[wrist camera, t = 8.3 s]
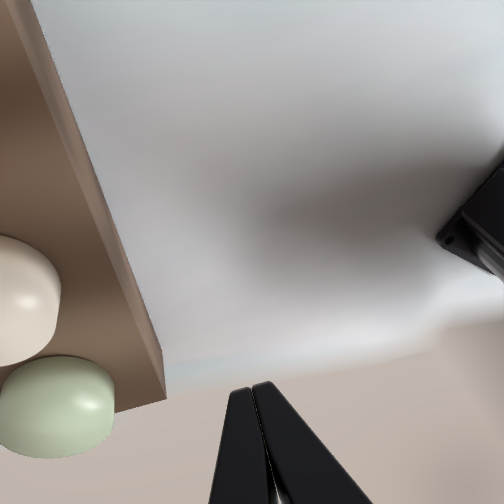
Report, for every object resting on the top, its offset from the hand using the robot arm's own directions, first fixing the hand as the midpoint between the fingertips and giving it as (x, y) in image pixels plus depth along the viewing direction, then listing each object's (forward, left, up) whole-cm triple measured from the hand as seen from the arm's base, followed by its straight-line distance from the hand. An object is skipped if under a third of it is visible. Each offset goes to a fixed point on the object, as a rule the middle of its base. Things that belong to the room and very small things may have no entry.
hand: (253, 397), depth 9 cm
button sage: (+1, +11, -8) cm, 13 cm away
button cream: (+5, +6, -8) cm, 11 cm away
